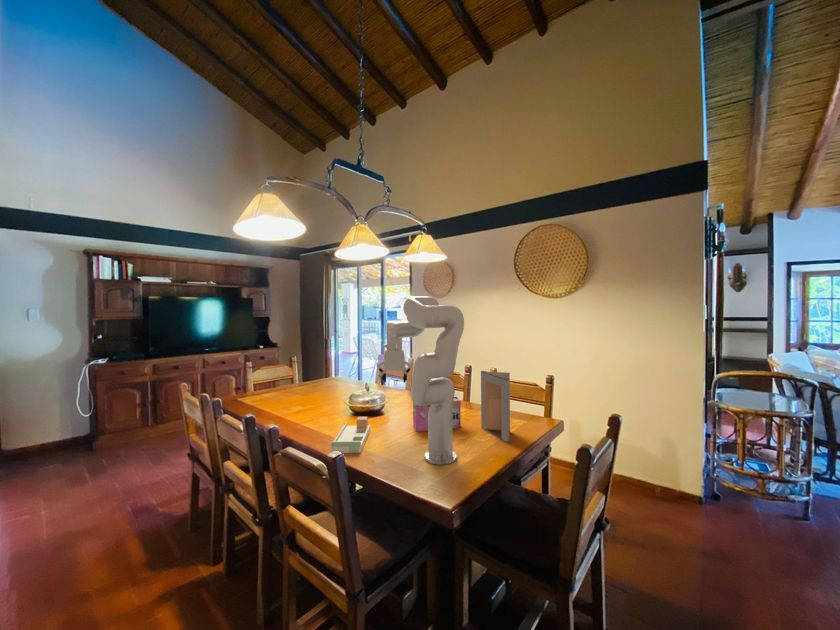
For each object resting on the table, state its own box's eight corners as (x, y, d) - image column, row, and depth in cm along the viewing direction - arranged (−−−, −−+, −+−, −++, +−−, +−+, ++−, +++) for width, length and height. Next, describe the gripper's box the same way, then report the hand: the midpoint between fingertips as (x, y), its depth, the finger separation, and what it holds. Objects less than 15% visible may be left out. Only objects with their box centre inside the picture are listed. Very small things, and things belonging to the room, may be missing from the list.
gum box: (458, 422, 179) (458, 396, 178) (463, 427, 171) (463, 400, 170) (412, 426, 174) (412, 399, 174) (415, 431, 166) (415, 403, 166)
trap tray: (360, 452, 143) (360, 441, 143) (331, 453, 143) (331, 442, 143) (370, 430, 169) (370, 421, 169) (345, 430, 169) (345, 421, 169)
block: (366, 429, 163) (366, 419, 163) (356, 429, 163) (356, 419, 163) (367, 425, 168) (367, 416, 168) (358, 425, 168) (358, 416, 168)
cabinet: (481, 427, 170) (480, 370, 170) (498, 425, 174) (497, 369, 173) (506, 443, 151) (505, 378, 150) (524, 439, 154) (524, 377, 154)
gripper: (375, 347, 166) (375, 383, 166) (411, 347, 165) (411, 383, 166) (378, 346, 173) (378, 380, 174) (412, 346, 173) (413, 380, 173)
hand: (394, 381), depth 170 cm, fingers open, 9 cm apart
